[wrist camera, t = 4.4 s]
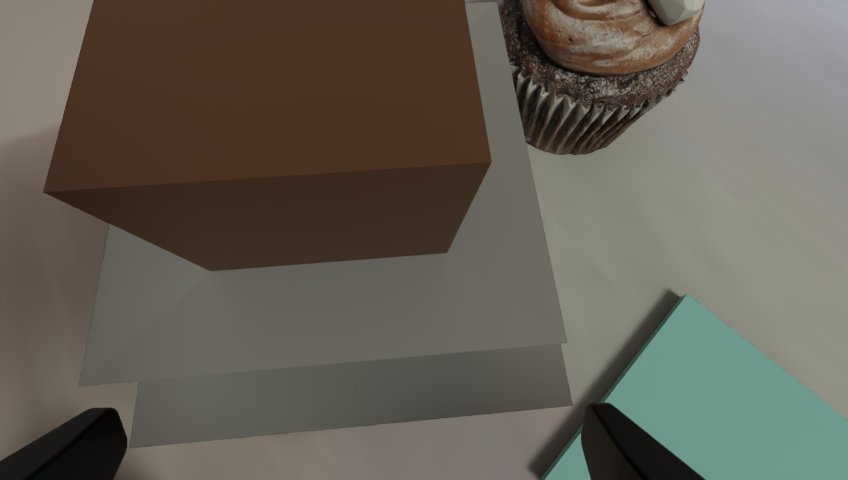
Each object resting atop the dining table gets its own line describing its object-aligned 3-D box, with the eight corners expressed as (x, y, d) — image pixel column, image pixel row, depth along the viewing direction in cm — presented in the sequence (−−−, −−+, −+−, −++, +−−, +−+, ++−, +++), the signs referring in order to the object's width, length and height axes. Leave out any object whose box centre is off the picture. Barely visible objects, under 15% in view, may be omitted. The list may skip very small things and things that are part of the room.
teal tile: (780, 722, 16) (793, 733, 15) (539, 478, 19) (543, 480, 18) (902, 473, 19) (917, 475, 18) (680, 296, 22) (687, 293, 21)
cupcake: (487, 29, 28) (522, -164, 19) (641, 47, 28) (754, -140, 18) (472, 157, 24) (508, -3, 15) (649, 179, 24) (796, 30, 15)
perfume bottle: (316, 429, 19) (-367, 498, 2) (316, 279, 22) (-16, -192, 5) (471, 414, 19) (811, 384, 3) (454, 268, 22) (576, -207, 5)
